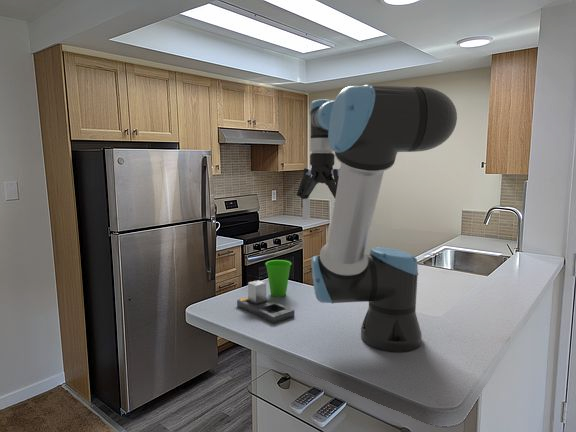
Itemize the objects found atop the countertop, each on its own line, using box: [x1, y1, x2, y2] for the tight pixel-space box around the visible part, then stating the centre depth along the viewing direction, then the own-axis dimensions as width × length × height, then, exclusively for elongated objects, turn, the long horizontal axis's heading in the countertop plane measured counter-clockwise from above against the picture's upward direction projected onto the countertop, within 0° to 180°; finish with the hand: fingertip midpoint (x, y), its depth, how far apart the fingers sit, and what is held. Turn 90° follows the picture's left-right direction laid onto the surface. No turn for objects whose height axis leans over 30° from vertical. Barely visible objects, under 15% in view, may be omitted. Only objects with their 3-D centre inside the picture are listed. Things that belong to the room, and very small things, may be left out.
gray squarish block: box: [247, 279, 267, 306], centre depth 122 cm, size 4×4×8 cm
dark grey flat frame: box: [236, 296, 295, 325], centre depth 120 cm, size 18×8×2 cm, turn 42°
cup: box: [264, 259, 293, 298], centre depth 134 cm, size 9×9×11 cm
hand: (321, 221), depth 123 cm, fingers open, 13 cm apart
